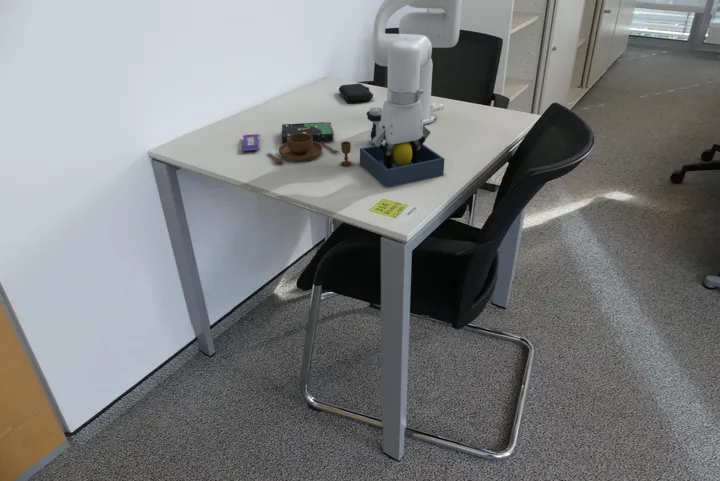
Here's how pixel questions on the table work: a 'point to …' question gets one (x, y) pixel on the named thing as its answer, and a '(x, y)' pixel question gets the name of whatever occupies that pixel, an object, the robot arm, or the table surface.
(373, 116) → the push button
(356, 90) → the carrying case
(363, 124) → the table surface
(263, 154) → the table surface
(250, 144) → the snack package
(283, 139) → the disk drive
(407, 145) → the lemon
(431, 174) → the bin
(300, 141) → the place setting
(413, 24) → the robot arm
